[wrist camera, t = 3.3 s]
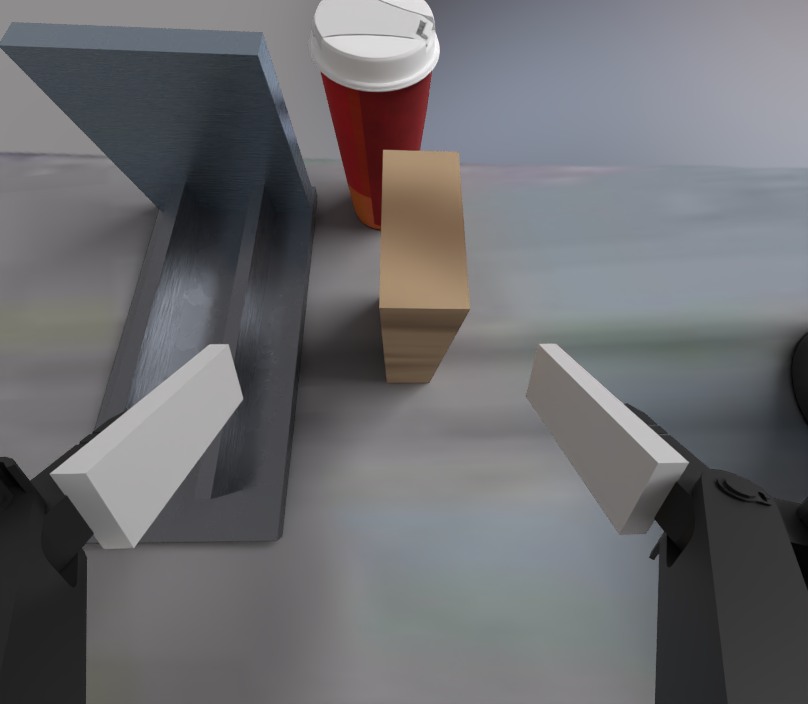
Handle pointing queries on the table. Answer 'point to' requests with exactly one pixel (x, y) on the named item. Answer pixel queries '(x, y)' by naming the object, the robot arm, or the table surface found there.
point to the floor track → (200, 241)
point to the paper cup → (374, 85)
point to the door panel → (421, 262)
